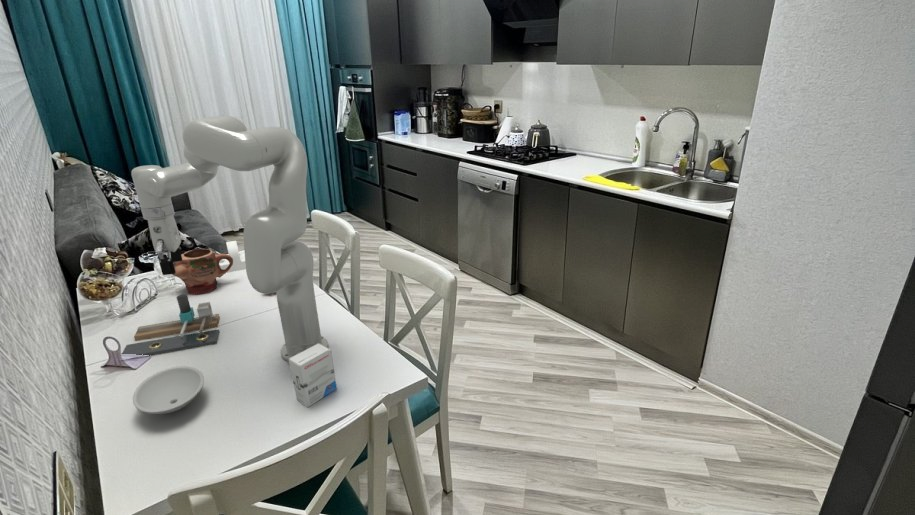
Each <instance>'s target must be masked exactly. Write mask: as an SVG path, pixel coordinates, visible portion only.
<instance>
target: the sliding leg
mask: <svg viewBox="0 0 915 515" xmlns="http://www.w3.org/2000/svg"><path fill="white" fill-rule="evenodd" d="M176 301H177V305H178V307H179V311H180V312H179V314H178V317H179V320H181V323H184V325H183V327H182V330H181V332H180V333H179V336H181V339H184V337H183V335H184V331H185V328H186V325H187V323H188V322H191V321H193V319H194V318H195V311H194V307H192V306H191V304H190V300H189V297H188V294H186V293H182V294H178V295H177V296H176Z"/></svg>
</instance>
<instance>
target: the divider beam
mask: <svg viewBox="0 0 915 515" xmlns="http://www.w3.org/2000/svg"><path fill="white" fill-rule="evenodd" d="M196 311H197V314H198V315H197V317H194V319H193V321H191V322H188V323H187V325H186V328H185V331H184V333H190V332H196V331H199V332H200V335H201V336H202V335H203V333H202V332H203V330H207V329H216V328H218V327H219V324H220V319H221V316H220V313H215V314H214V313H213V308H212V305H211V302H210V301H207V302H200V303H198V305H197V309H196ZM183 325H184V323H181V320H180V319H179V320H172V321H166V322H165V321H164V322H160V323H153V324H148V325H146V324H145V325H141V326H138V327H137V328H136V329H137V330H136V332H135V334H134V336H133V338H134V341H135V342H138V341H143V340H149V339H150V340H151V339H154V338H160V337H167V336H173V335H178V334H179V335H180V332H181V330H182V327H183ZM199 332H198V333H199ZM184 333H183V334H184Z"/></svg>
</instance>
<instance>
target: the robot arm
mask: <svg viewBox="0 0 915 515" xmlns="http://www.w3.org/2000/svg"><path fill="white" fill-rule="evenodd" d="M186 124H187V125H186V126H185V127H184V129H183V131H182V132H183V133H182V139H183V144H184V146H183V156H184V158H185V160H186V162H184V163H180V164H175V165H171V166H170V165H169V166H166V167H162V166H160V165H156V164H155V165H154V164H151V165H148V164H147V165H140V166H137V167H133V169H132V170H131V177H132V181H133V184H134V189H135V193H136V196H137V200H138V202H139V206H140V210H141V214H142V217H143V218H142V219H143V220H146V221H147V224H148V228H149V234H150V237H151V242H152V246H153V249H154V251H155V253H156V255H157V259H158V263H159V266H160V270H161V273H162V275H163V276H167V275H168V276H169V275H172V274H175V272H176V271H175V268H174V262H178V261H182V256H181V254H182V253H181V249H180V245H181V243H182V239H181V235H180V232H179V228H178V226H177V222H176V219H175V215H176V212H175V209H174V206H173V202H172V197H176V196H180V195H182V194H186V193H188V192H189V193H190V192H193V191H195V190H199V189H200V188H202V187H204V186H205V185H206V184H208V183H209V182H210V181H211V180H213V179H214V178H215V177H216V175H217V173H218V169H219V167H220V166H221V167H225V168H228V169H230V170H232V171H233V170H234V171H237V172H250V171H256V170H258V169H259V170H260V169H262V168H266V167H269V166H272V165H273V170H272V173H271V176H270V178H269V182H268V206H267V208H266V209H263V210H261V211H259V212H256V213H255V214H252V215H251V216H250V217H249V218H248V219H247V221H246V222H245V225H244V227H243V248H244V253H245V263H246V269H245V270H246V271H245V272H246V276H247V277H246V278H247V279H248V281H249V284H250V286H251V287H252V288H253V289H254V290H255V291H257V292H258V293H261V294H263V295H269V294H273V293H276V301H277V307H278V312H279V313H278V314H279V317H280V323H281V328H282V333H283V339H284V343H285V344H283V345H282V346H281V349H280V356H281V358H282V359H283V360H285V361H287V362H289V358H291V357H293V356H295V355H297V354H299V353H301V352H303V351H305V350H307V349H309V348H311V347H312V346H314V345H316V344H318V343H319V344H321V345H324V346H325V347H327V348H329V342H328V339H327V338H326V337H324V336H322V333H321V328H320V321H319V313H318V308H317V301H316V295H315V287H314V286H315V285H314V256H313V253H312V251H311V249H310V248H309V246H308V245H306V244H305V243H304V242H302V241H299V240H298V239H300V238H301V237H303V235H304V234H305V233H306V231H307V227H308V222H307V220H308V218H307V217H308V215H307V214H308V213H307V174H308V157H307V153H306V149H305V146H304V144H303V143H302V141H301V140H300V139H299V137H298V135H296V134H295V133H294V132H293V131H291V130H289V129H288V128H284V127H281V126H265V127H259V128H255V129H250V130H248V129H247V126H246V125H245V124H244V122H242V121H241V120H240V119H239V118H237V117H235V116H232V115H218V116H217V115H216V116H208V117H202V118H196V119H193V120H191V121H190V122H188V123H186Z"/></svg>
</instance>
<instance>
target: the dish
mask: <svg viewBox="0 0 915 515" xmlns="http://www.w3.org/2000/svg"><path fill="white" fill-rule="evenodd" d="M204 383H205V377H204V374H203V372H202V371H200V370H199V369H198V368H196V367H193V366H186V365H183V366H182V365H181V366H180V365H179V366H173V367H170V368H165V369H162V370H159V371H157V372H156V373H154V374H152V375H150V376H149V377H147V378H146V379H144V380H142V382H141V383H140V384H138V386H137V387H136V389H135V391H133V395H132V404H133V406H134V407H135V408H136V409H137V410H138V411H140V412H143V413H147V414H159V415H161V414H169V413H173V412H176V411H178V410H181V409H182V408H184V407H185V406H187V405H188V404H190V402H192V401H193V400H194V398H195V397H196V396H197V395H198V394H199V393H200V391H201V390H202V388H203V386H204Z"/></svg>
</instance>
